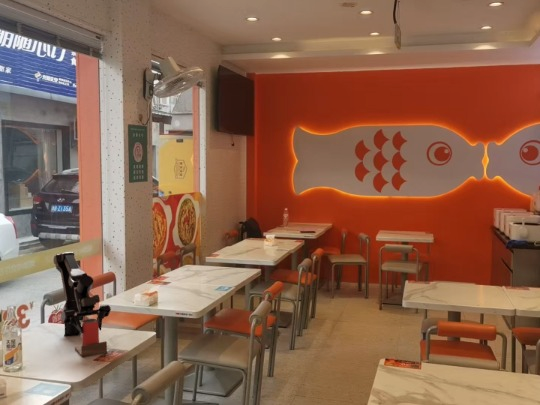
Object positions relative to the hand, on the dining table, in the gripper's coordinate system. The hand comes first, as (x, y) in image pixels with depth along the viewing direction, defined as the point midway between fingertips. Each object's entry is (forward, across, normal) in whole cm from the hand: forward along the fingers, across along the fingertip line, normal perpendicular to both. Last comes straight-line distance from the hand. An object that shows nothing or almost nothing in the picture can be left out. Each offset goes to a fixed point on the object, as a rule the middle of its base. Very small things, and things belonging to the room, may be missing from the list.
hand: (91, 331), depth 228 cm
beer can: (+5, 0, +7) cm, 8 cm away
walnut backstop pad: (+5, 0, +7) cm, 9 cm away
